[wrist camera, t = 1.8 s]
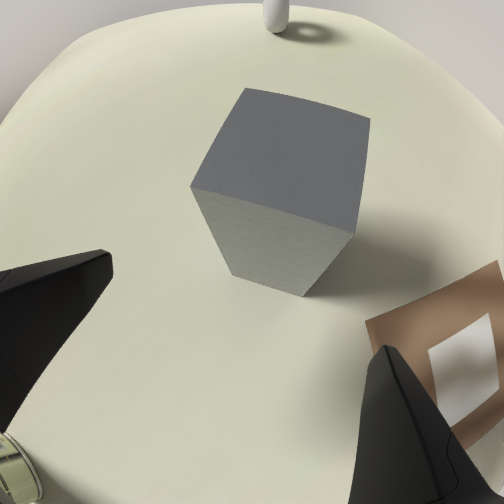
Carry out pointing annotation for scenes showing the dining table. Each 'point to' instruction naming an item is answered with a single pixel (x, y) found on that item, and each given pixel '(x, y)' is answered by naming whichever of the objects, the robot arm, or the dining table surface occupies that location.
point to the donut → (276, 15)
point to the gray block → (283, 187)
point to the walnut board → (454, 349)
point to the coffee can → (18, 473)
